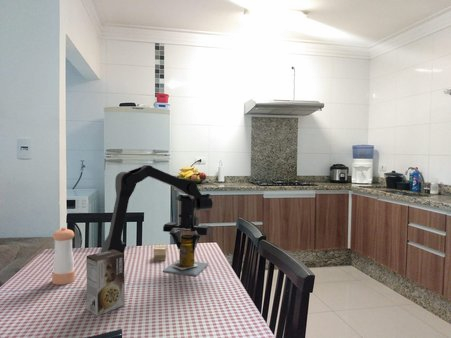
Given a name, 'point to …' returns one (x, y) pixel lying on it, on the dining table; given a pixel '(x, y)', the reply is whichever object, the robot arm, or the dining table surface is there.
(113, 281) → the cookie box
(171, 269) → the plate
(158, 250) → the beech cube
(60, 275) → the pepper shaker
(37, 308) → the dining table surface
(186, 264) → the condiment
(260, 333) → the dining table surface
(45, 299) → the dining table surface
